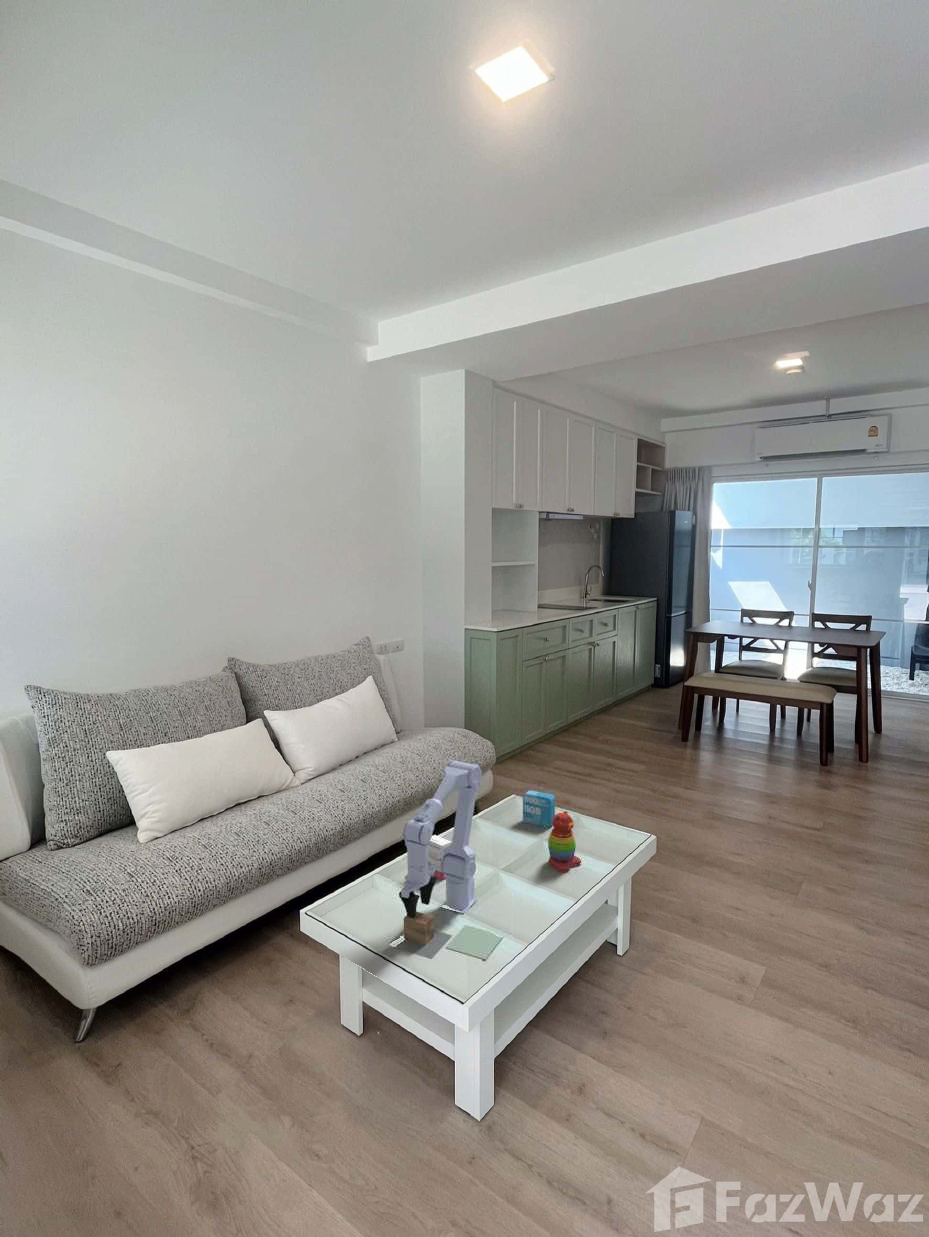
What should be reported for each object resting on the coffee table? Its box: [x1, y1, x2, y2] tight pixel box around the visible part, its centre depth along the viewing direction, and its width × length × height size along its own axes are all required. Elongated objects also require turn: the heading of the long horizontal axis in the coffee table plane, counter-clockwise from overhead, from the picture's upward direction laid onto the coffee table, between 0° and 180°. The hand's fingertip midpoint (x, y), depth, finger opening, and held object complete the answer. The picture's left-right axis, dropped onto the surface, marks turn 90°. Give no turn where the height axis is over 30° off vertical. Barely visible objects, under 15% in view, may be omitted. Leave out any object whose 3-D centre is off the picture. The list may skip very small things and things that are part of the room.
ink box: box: [428, 834, 452, 881], centre depth 221 cm, size 8×5×12 cm, turn 47°
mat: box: [445, 924, 503, 961], centre depth 183 cm, size 12×12×1 cm
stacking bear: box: [547, 811, 582, 873], centre depth 228 cm, size 11×10×18 cm
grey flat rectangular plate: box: [389, 928, 453, 960], centre depth 184 cm, size 12×14×1 cm
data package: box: [522, 789, 556, 828], centre depth 261 cm, size 12×4×12 cm, turn 60°
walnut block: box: [403, 910, 435, 945], centre depth 185 cm, size 4×7×6 cm, turn 63°
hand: (418, 910), depth 184 cm, fingers open, 7 cm apart
